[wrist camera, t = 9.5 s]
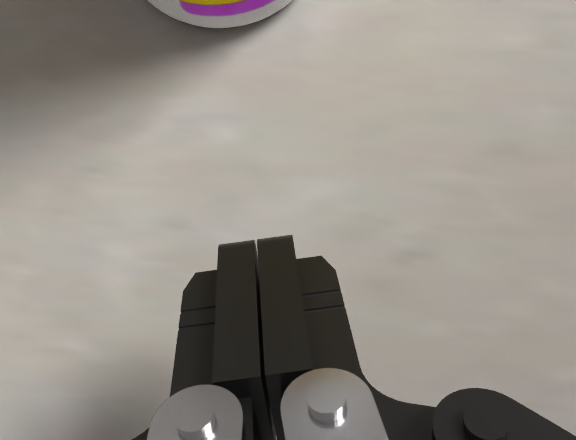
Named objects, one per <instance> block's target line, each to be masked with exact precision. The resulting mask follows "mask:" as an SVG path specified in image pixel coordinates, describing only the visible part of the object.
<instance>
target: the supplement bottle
mask: <svg viewBox="0 0 576 440" xmlns="http://www.w3.org/2000/svg"><path fill="white" fill-rule="evenodd" d="M147 1H149V2H150V3H151V4H152V5H153V6H155V7H156V8H157V9H159V10H160V11H162V12H163V13H165V14H167V15H168V16H170V17H172V18H175V19H177V20H179V21H182V22H185V23H188V24H192V25H196V26H201V27H209V28H229V27H237V26H242V25H247V24H251V23H254V22H257V21H259V20H262V19H264V18H266V17H268V16H271V15H272V14H274V13H276V12H277V11H279V10H280V9H282V8H283V7H285V6H286V5H287V4H289V3H290V2H291V1H292V0H147Z"/></svg>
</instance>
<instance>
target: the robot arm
mask: <svg viewBox="0 0 576 440" xmlns="http://www.w3.org/2000/svg"><path fill="white" fill-rule="evenodd" d="M257 248H258V256H257V250H256V244H255V241H254V240H251V241H243V242H236V243H228V244H221V245H219V247H218V265H217V270H213V271H205V272H198V273H195V275H194V276H193V277H192V279H191V280H190V282H189V283H188V285H187V286H186V288H185V289H184V291H183V297H182V305H181V315H180V321H179V331H178V337H177V345H176V353H175V361H174V369H173V377H172V385H171V393H170V397H169V398H168V399H167V400H166V401H165V402H164V403H163V404H162V405H161V406H160V407H159V409H158V410H157V411H156V413H155V415H154V417H153V418H152V421H151V424H150V428H148V429H147V430H146V431H145V432H143V433H142V434H140V435H139V436H137V437H136V438H134V439H132V440H276V437H277V440H576V436H574V435H573V434H571V433H569V432H567V431H566V430H564V429H562V428H561V427H559V426H557V425H556V424H554V423H552V422H550V421H549V420H547V419H545V418H544V417H542V416H540V415H539V414H537V413H535V412H534V411H532V410H530V409H528V408H527V407H525V406H523V405H522V404H520V403H518V402H517V401H515V400H513V399H511V398H510V397H508V396H506V395H504V394H501V393H498V392H496V391H492V390H488V389H481V388H468V389H462V390H459V391H456V392H453V393H451V394H449V395H448V396H446V397H445V398H444V399H443V400H441V402H440V403H439V404H438V406H437V407H430V406H424V405H417V404H410V403H405V402H400V401H397V400H394V399H391V398H389V397H387V396H385V395H383V394H382V393H380V392H379V391H377V390H376V389H375V388H374V387H373V386H371V385H370V383H369V382H368V381H367V380H366V378H365V377H364V375H363V373H362V371H361V368H360V365H359V361H358V357H357V353H356V349H355V345H354V341H353V337H352V333H351V329H350V325H349V321H348V317H347V313H346V309H345V307H344V301H343V297H342V294H341V290H340V286H339V282H338V278H337V274H336V270H335V269H334V268H333V267H332V266H331V265H330V264H329V263H328V262H327V261H326V260H325V259H324V258H323V257H322V256H316V257H309V258H301V259H296V256H295V249H294V243H293V237H292V235H287V236H280V237H272V238H265V239H257Z"/></svg>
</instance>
